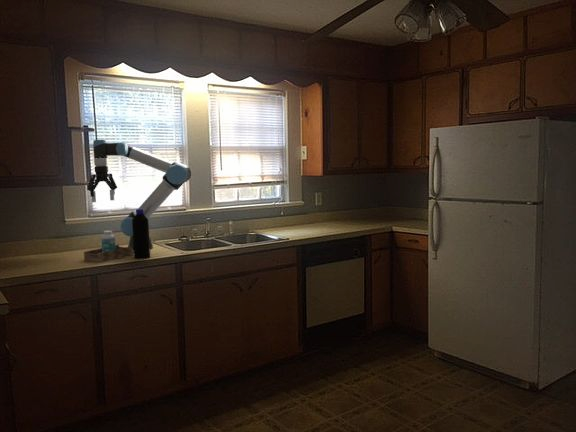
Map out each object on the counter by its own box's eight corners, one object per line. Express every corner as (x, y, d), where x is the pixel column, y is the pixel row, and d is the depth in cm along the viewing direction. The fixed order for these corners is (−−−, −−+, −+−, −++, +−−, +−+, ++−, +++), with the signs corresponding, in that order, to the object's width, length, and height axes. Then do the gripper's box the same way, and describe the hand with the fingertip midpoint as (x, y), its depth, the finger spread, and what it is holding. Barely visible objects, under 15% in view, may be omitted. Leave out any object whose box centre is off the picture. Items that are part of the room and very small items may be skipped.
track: (117, 253, 300) (117, 244, 300) (133, 254, 294) (132, 246, 293) (84, 260, 279) (83, 251, 279) (100, 262, 273) (99, 253, 272)
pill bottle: (99, 254, 284) (98, 231, 283) (108, 252, 291) (107, 229, 289) (109, 255, 281) (108, 232, 280) (118, 253, 288) (117, 230, 286)
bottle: (131, 257, 285) (129, 209, 282) (146, 255, 291) (143, 208, 288) (137, 259, 278) (135, 210, 275) (152, 257, 284) (150, 209, 281)
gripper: (113, 165, 307) (115, 199, 310) (79, 166, 286) (81, 202, 288) (121, 165, 304) (123, 199, 306) (87, 166, 282) (90, 203, 284)
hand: (103, 201), depth 297 cm, fingers open, 13 cm apart
